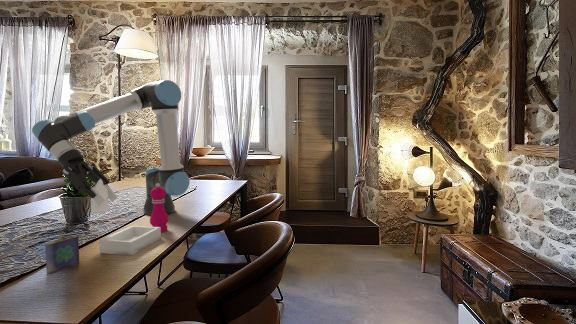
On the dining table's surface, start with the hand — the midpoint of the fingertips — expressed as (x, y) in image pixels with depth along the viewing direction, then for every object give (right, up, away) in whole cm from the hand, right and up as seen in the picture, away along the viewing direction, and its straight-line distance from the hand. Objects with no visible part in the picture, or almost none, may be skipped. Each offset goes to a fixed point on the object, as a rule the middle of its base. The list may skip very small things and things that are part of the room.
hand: (108, 201), depth 123 cm
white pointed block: (-4, -4, +1) cm, 6 cm away
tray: (+8, -16, +1) cm, 18 cm away
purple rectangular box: (-3, -18, -19) cm, 27 cm away
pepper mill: (+12, -15, +18) cm, 26 cm away
